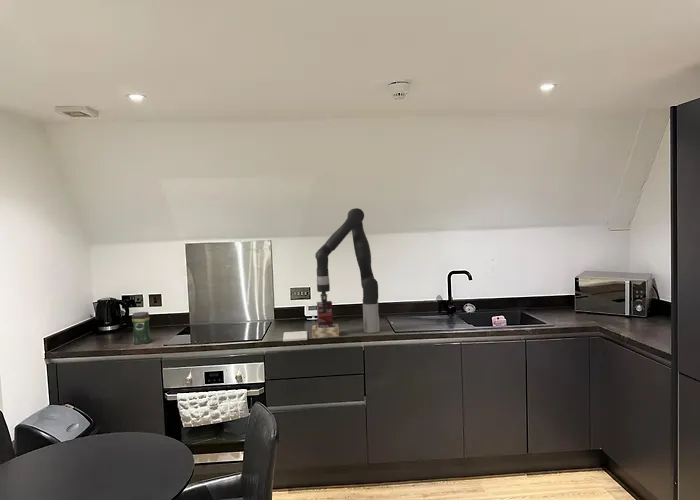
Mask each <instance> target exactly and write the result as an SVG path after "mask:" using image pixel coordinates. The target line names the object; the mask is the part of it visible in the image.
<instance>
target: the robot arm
mask: <svg viewBox="0 0 700 500" xmlns="http://www.w3.org/2000/svg"><path fill="white" fill-rule="evenodd" d="M364 218H365V212H364V210H362V208H358V207H357V208H356V207H355V208H352V209H350V210H349V211H348V212H347V217H346V219H345V221H344V222H343V224H341V226H339V228H338V229H336V230H335V231H334V232H333V233H332V234H331V235H330V236H329V238H328V239H327V240H326V241H325V243H324V244H323V245H322V246H321V247H320V248H319V249H318V250H317V251H316V252H315V254H314V255H315V257H314V258H315V259H316V290H317V291H316V292H318V293H320V302H322V306H323V313H326V312H327V301H328V293H327V292H330V291H331V290H330V289H331V288H330V276H329V275H330V273H329V256H330V254H332V252H333V251H335V250H336V249H337V248H338V246H340V244H341V243H342V242H343V241H344V240H345V238H346V237H347V236H348V235H349V234H350V232H351V234H352V242H353V249H354V254H355V257H356V258H355V259H356V261H357V265H358V269H359V272H360V273H359V274H360V283H361V284H360V285H361V288H362V316H363V317H362V318H363V320H362V321H363V332H364V333H368V334H370V333H371V334H372V333H373V334H374V333H378V332H379V333H380V332H381V331H380V329H381V327H380V316H379V283H378V281H377V279H375V276H374V274H373V270H372V269H373V268H372V253H371V247H370V244H369V243H370V242H369V240H368V237H367V235H366V233H365V230H364V224H363V221H364ZM323 303H326V304H323Z"/></svg>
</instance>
